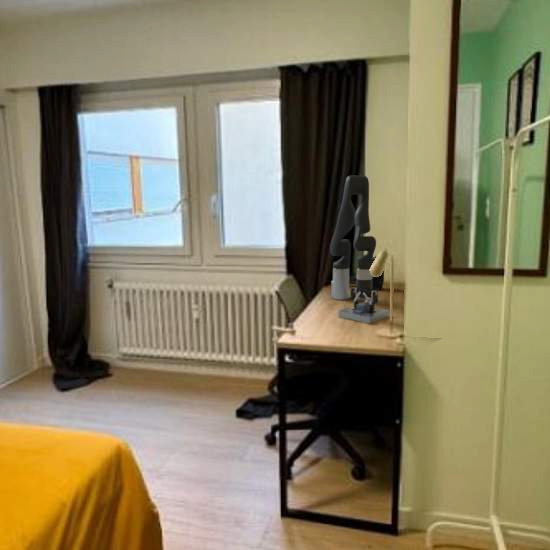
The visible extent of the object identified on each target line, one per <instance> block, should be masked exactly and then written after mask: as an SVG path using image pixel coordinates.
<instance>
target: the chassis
mask: <svg viewBox="0 0 550 550" xmlns="http://www.w3.org/2000/svg"><path fill="white" fill-rule="evenodd" d="M354 310H356V309H355V308H354V305H353V306H350V307H347V308H343V309H340V310H338V313H337V314H338V315H337V316H338V318H342V319H346V318H347V320H350V319H351V321H355V320H356V322H359V321H360V323H364V322H365V324H368V323H369V324H372V323H375V322H378V321H381V320H383V319H386V318H388V316H389V317H390V310H389V309H384V308H379V307H375V309H374V311H373V312H372V314H370V313H361V314H357V313H353V311H354ZM385 317H386V318H385ZM380 319H381V320H380Z"/></svg>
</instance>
